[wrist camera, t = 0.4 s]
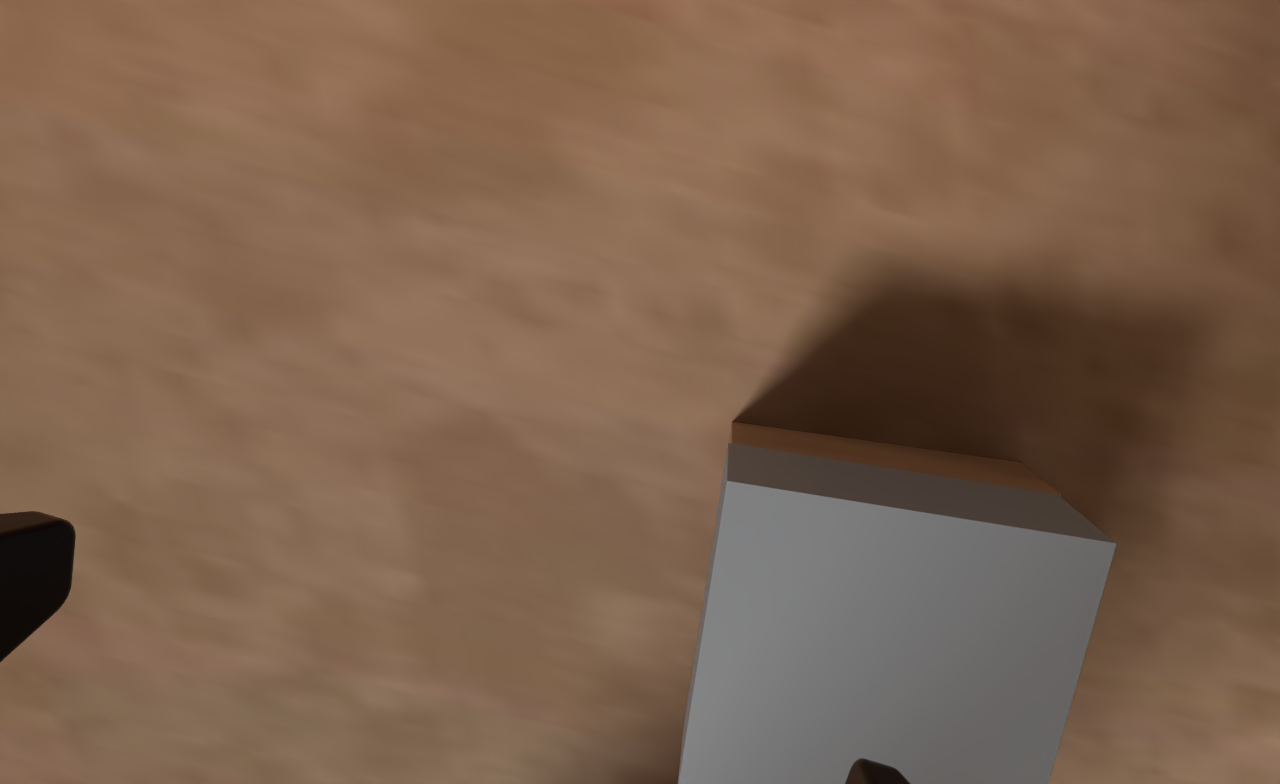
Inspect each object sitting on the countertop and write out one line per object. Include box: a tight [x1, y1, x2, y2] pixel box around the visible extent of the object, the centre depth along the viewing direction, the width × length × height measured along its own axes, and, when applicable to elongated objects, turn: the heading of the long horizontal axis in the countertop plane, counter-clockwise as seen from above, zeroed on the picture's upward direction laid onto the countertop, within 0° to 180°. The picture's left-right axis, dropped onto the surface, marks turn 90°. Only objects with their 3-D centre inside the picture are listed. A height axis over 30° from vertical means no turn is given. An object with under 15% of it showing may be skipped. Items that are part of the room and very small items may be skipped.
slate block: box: [678, 443, 1117, 784], centre depth 18 cm, size 8×8×3 cm
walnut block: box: [729, 422, 1061, 497], centre depth 21 cm, size 8×8×3 cm
